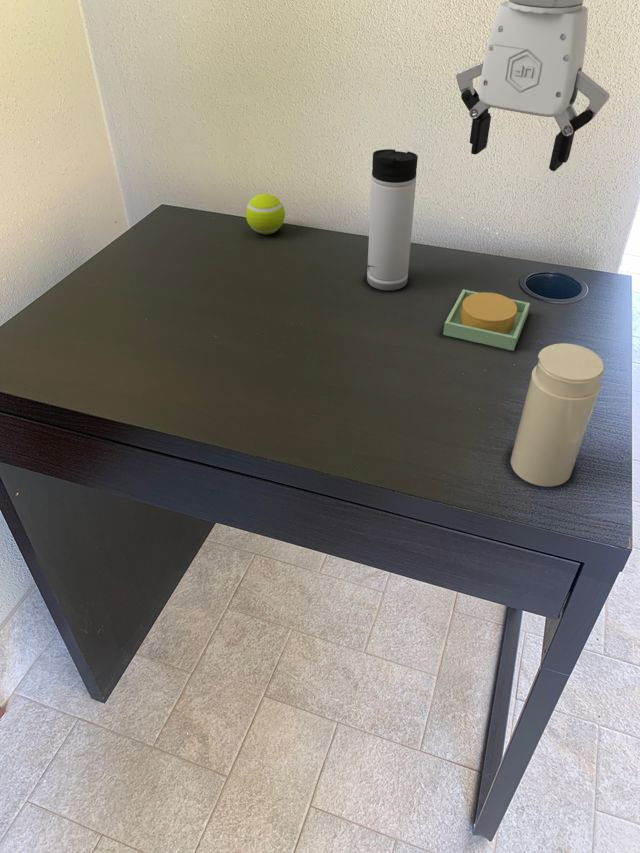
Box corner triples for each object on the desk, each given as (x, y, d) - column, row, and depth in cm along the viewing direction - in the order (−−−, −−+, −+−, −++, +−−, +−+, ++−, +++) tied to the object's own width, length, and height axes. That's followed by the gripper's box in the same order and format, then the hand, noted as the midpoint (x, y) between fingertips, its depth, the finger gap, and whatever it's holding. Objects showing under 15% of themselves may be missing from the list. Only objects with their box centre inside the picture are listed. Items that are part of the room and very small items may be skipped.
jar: (575, 454, 77) (610, 350, 67) (567, 493, 72) (603, 388, 63) (516, 438, 79) (542, 335, 69) (504, 476, 74) (530, 371, 65)
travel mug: (360, 287, 105) (365, 155, 91) (374, 268, 109) (381, 139, 96) (399, 295, 103) (409, 162, 90) (412, 275, 107) (424, 145, 94)
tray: (527, 314, 99) (530, 302, 97) (513, 350, 92) (516, 338, 91) (461, 301, 102) (462, 289, 100) (442, 335, 95) (444, 322, 94)
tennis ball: (291, 236, 118) (290, 199, 113) (254, 244, 116) (252, 206, 111) (277, 221, 122) (275, 184, 118) (242, 228, 120) (238, 191, 116)
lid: (524, 321, 96) (528, 305, 95) (495, 343, 92) (498, 327, 91) (479, 302, 100) (482, 286, 99) (449, 322, 96) (451, 306, 95)
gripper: (454, -12, 71) (436, 154, 83) (622, 5, 64) (578, 185, 75) (483, -22, 76) (462, 136, 87) (643, -8, 69) (598, 163, 80)
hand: (516, 158), depth 81 cm, fingers open, 9 cm apart
